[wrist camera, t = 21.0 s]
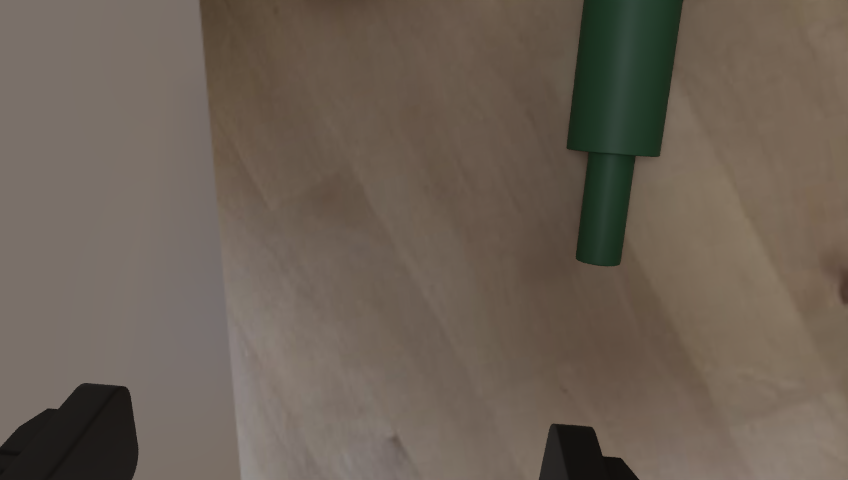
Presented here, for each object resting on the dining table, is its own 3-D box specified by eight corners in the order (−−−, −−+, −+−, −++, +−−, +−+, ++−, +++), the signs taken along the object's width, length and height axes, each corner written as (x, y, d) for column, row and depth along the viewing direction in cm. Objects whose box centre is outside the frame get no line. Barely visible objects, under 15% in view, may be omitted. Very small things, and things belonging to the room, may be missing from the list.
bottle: (547, 263, 33) (642, 277, 31) (590, -106, 29) (700, -111, 28) (560, 247, 37) (643, 259, 36) (598, -74, 34) (693, -77, 32)
